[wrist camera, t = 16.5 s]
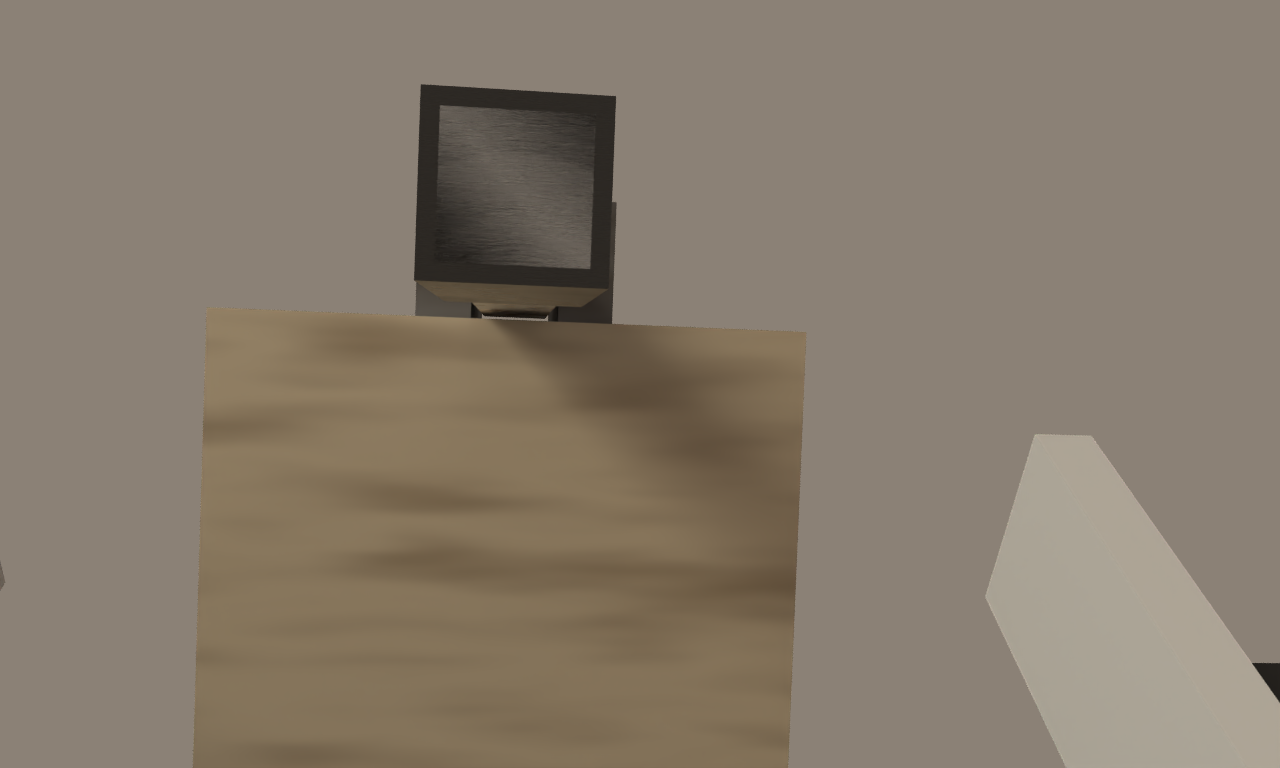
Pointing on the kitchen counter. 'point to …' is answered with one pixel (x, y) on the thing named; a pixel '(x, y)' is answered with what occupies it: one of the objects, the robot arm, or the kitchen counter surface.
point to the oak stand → (496, 540)
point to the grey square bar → (514, 198)
